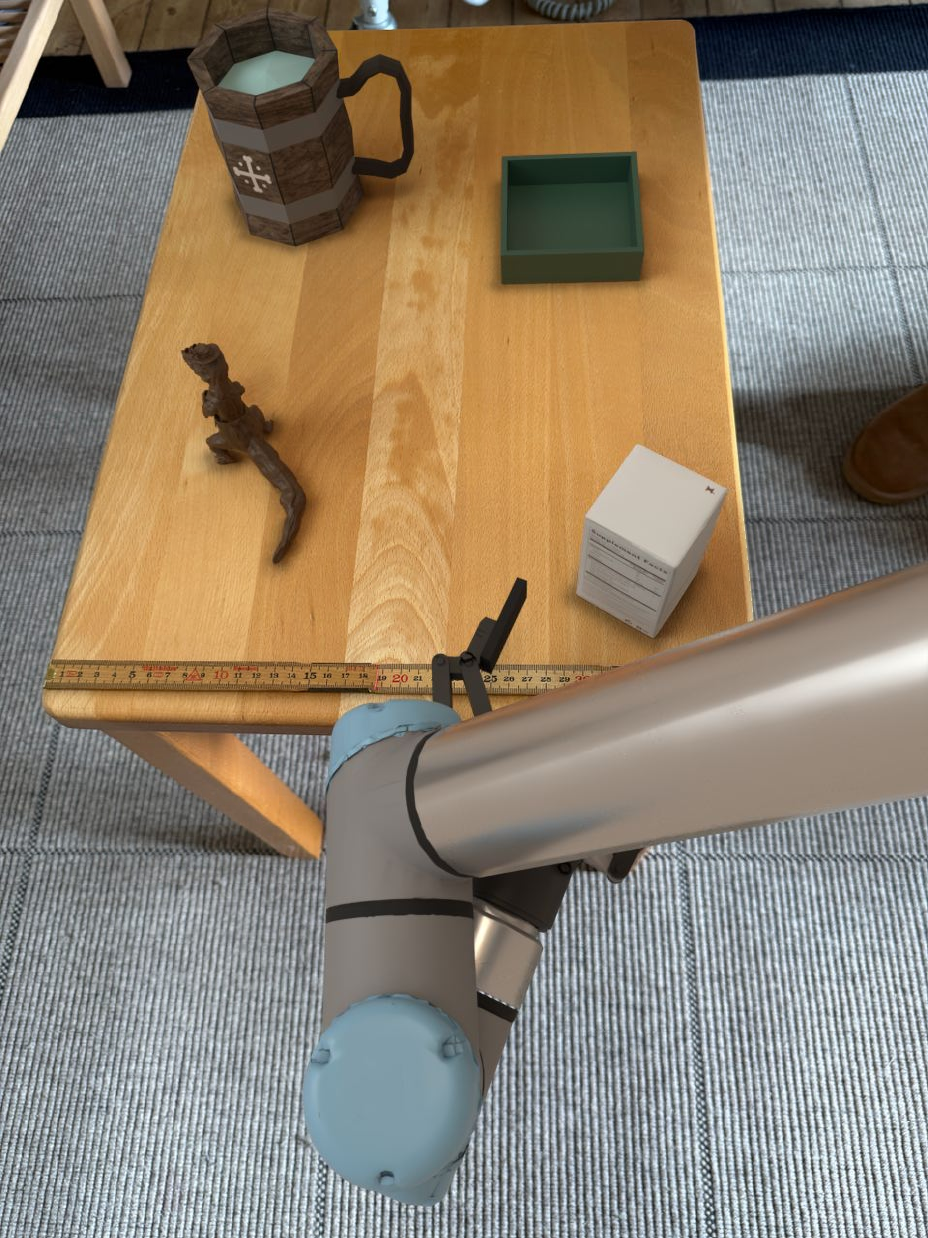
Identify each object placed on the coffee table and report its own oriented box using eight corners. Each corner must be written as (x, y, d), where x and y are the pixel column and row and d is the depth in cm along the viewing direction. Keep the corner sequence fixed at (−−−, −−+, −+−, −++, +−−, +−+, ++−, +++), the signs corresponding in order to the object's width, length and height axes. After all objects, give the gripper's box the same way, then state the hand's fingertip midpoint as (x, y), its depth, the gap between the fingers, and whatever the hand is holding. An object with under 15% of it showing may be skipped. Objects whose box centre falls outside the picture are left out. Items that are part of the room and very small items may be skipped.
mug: (229, 249, 89) (176, 110, 75) (242, 156, 94) (195, 11, 81) (422, 239, 88) (404, 97, 74) (424, 145, 93) (408, -3, 80)
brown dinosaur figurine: (219, 415, 80) (169, 318, 69) (325, 421, 79) (293, 323, 68) (181, 560, 74) (120, 479, 63) (295, 568, 73) (254, 487, 62)
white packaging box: (620, 528, 73) (638, 438, 62) (699, 572, 71) (733, 487, 60) (572, 595, 71) (581, 514, 59) (652, 643, 69) (678, 568, 57)
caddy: (639, 280, 84) (644, 251, 81) (501, 284, 85) (500, 255, 82) (632, 182, 89) (636, 150, 86) (502, 186, 90) (501, 155, 87)
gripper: (325, 840, 60) (453, 583, 68) (676, 1004, 55) (774, 704, 62) (299, 818, 53) (446, 534, 61) (698, 1002, 48) (805, 666, 55)
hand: (612, 620), depth 61 cm, fingers open, 13 cm apart
